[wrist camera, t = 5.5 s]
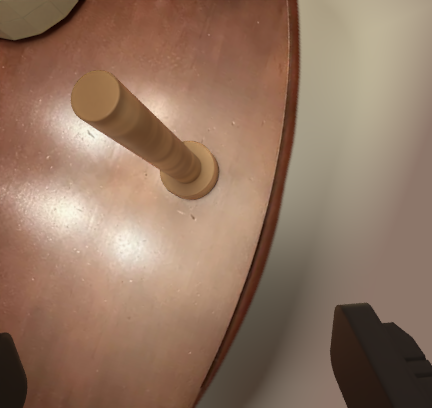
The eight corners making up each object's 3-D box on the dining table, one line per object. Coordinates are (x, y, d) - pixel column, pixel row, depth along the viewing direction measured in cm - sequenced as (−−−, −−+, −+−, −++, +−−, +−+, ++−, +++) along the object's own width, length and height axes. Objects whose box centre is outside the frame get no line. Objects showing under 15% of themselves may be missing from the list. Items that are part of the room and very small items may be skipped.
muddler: (203, 136, 32) (116, 29, 17) (228, 182, 31) (157, 109, 16) (157, 163, 32) (36, 82, 18) (180, 209, 31) (71, 162, 17)
